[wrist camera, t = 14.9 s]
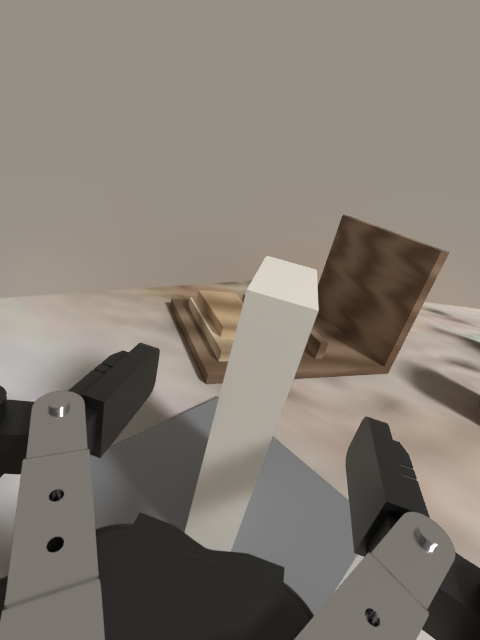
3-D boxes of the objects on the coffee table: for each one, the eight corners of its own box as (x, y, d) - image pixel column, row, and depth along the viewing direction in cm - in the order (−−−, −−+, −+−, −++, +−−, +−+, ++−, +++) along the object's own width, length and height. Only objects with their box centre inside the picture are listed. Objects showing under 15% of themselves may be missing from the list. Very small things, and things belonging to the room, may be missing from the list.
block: (229, 556, 17) (318, 310, 11) (182, 539, 17) (246, 289, 11) (247, 470, 22) (316, 269, 16) (211, 458, 22) (266, 255, 16)
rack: (387, 373, 40) (449, 252, 34) (206, 383, 30) (244, 215, 24) (314, 312, 53) (349, 216, 47) (170, 305, 43) (189, 182, 37)
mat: (41, 485, 19) (41, 478, 18) (221, 400, 29) (223, 394, 28) (203, 798, 11) (207, 792, 11) (372, 529, 21) (376, 523, 21)
